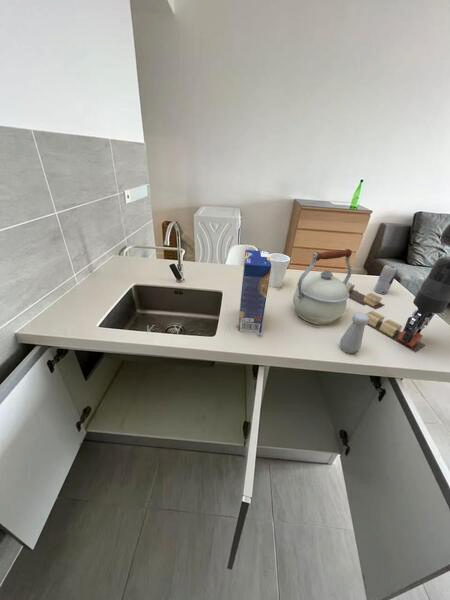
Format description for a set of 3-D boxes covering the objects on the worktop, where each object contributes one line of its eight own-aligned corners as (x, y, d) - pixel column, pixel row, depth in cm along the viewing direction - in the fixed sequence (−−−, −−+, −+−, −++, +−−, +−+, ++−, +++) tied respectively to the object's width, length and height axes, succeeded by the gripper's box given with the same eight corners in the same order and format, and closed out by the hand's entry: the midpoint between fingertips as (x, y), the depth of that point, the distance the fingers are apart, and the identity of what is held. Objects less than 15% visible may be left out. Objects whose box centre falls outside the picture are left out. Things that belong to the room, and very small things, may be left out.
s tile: (404, 334, 82) (408, 327, 80) (418, 342, 78) (423, 335, 77) (397, 338, 79) (401, 331, 78) (412, 347, 76) (416, 339, 75)
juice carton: (260, 333, 80) (271, 266, 68) (238, 331, 81) (244, 264, 68) (259, 312, 91) (268, 251, 78) (239, 311, 91) (245, 249, 78)
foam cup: (262, 279, 115) (266, 252, 108) (282, 279, 115) (287, 253, 108) (265, 288, 107) (270, 261, 100) (286, 289, 107) (292, 262, 100)
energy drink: (389, 292, 109) (400, 268, 103) (383, 295, 107) (394, 270, 100) (377, 287, 113) (387, 263, 107) (371, 290, 110) (381, 266, 104)
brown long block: (341, 285, 113) (344, 278, 111) (384, 306, 99) (388, 298, 97) (332, 289, 109) (334, 281, 108) (375, 311, 95) (378, 303, 93)
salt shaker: (335, 342, 78) (347, 308, 71) (353, 343, 78) (367, 309, 71) (342, 355, 73) (356, 320, 66) (361, 356, 73) (377, 321, 66)
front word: (366, 315, 92) (370, 307, 90) (424, 347, 78) (430, 337, 76) (355, 320, 89) (359, 312, 87) (414, 354, 75) (420, 345, 73)
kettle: (306, 334, 81) (327, 265, 68) (277, 305, 95) (289, 244, 82) (362, 320, 89) (389, 257, 76) (327, 296, 104) (345, 239, 91)
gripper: (439, 306, 64) (410, 353, 73) (460, 293, 70) (431, 338, 79) (409, 293, 69) (385, 339, 78) (431, 282, 76) (407, 326, 85)
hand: (409, 338), depth 79 cm, fingers closed on s tile, 4 cm apart
